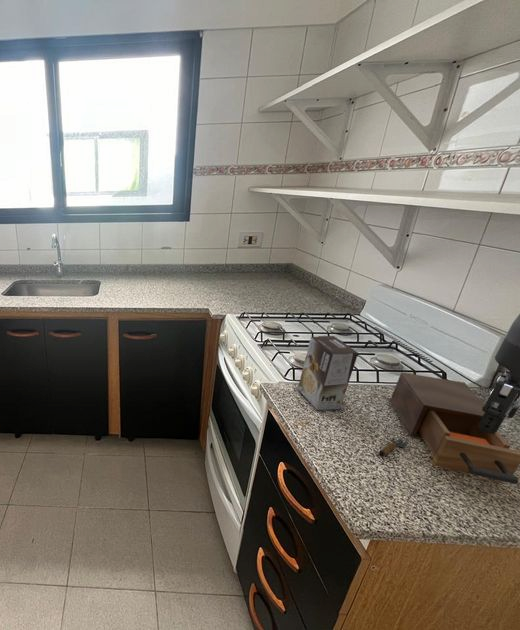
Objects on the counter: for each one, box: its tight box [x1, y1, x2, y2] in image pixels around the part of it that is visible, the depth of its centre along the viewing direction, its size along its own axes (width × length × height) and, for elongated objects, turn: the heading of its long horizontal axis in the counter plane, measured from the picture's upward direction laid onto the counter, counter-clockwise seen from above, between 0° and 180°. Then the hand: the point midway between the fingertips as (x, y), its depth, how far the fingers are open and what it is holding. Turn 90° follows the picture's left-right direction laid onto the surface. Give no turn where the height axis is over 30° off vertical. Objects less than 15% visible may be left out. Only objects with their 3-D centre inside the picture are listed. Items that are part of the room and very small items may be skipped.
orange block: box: [450, 432, 490, 445], centre depth 69 cm, size 7×3×3 cm, turn 68°
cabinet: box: [389, 372, 486, 440], centre depth 79 cm, size 14×12×9 cm
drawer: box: [418, 409, 520, 485], centre depth 68 cm, size 17×11×7 cm, turn 158°
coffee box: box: [297, 335, 359, 411], centre depth 86 cm, size 9×6×16 cm
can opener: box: [378, 437, 408, 457], centre depth 73 cm, size 9×2×1 cm, turn 112°
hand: (495, 422), depth 62 cm, fingers open, 8 cm apart
